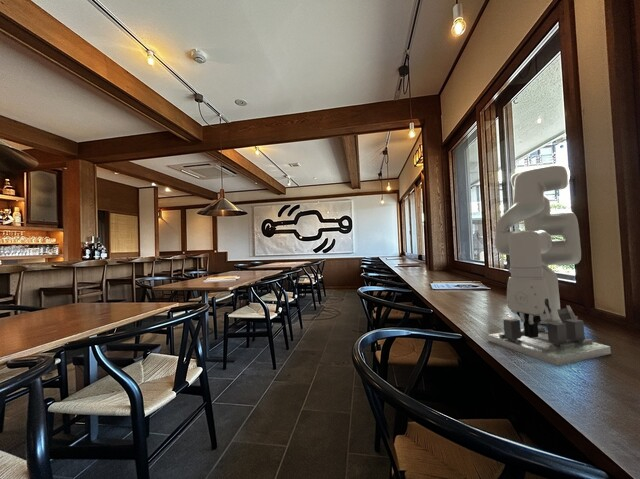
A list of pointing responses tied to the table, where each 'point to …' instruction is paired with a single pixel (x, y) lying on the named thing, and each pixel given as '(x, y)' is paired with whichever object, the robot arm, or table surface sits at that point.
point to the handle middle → (557, 333)
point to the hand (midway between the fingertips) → (531, 336)
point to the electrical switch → (566, 314)
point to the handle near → (575, 329)
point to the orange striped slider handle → (512, 328)
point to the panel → (552, 347)
